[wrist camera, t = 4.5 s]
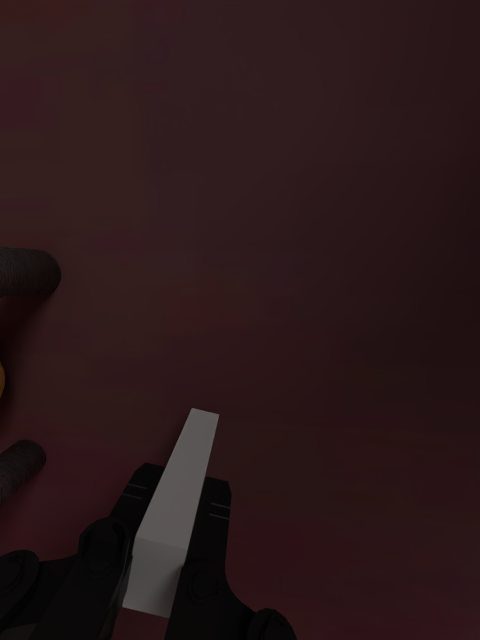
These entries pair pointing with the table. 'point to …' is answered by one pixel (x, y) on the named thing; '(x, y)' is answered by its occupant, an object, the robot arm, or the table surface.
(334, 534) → the table surface
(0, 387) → the ball
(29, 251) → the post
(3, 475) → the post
